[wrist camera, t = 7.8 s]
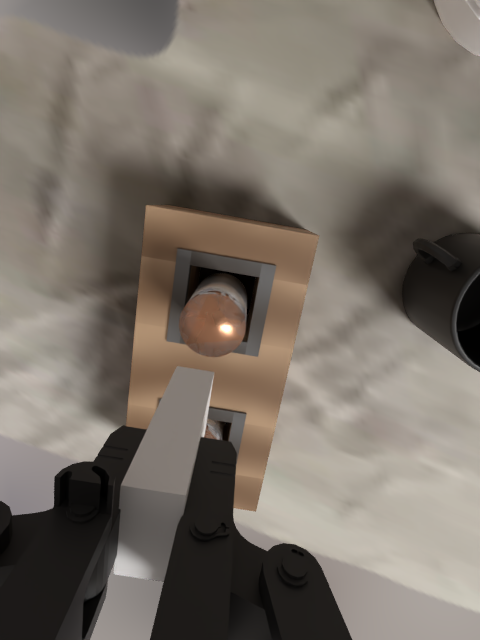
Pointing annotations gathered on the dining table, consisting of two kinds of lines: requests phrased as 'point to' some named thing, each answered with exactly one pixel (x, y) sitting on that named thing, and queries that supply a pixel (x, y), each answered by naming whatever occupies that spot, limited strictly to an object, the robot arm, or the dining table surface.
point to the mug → (447, 293)
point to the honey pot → (461, 22)
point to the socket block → (260, 335)
